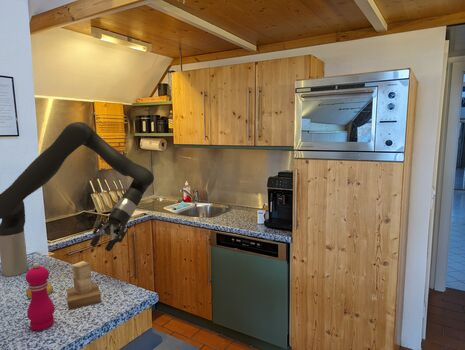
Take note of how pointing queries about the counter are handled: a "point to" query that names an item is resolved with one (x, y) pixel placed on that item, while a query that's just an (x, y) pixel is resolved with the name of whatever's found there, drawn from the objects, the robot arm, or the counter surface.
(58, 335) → the counter surface
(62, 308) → the counter surface
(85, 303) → the walnut block
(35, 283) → the pepper mill
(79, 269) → the beech block
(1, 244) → the robot arm
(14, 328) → the counter surface
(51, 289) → the bread roll
